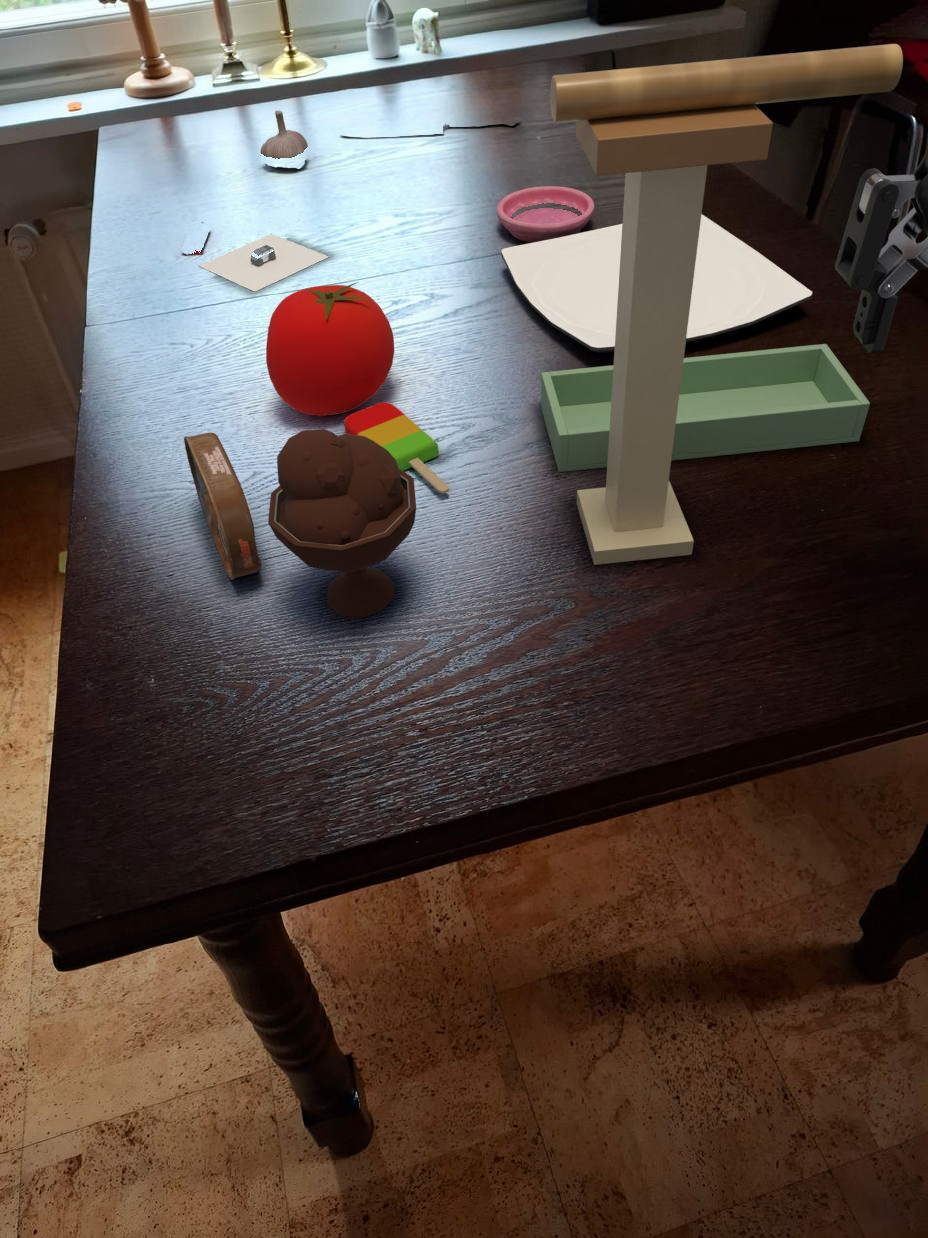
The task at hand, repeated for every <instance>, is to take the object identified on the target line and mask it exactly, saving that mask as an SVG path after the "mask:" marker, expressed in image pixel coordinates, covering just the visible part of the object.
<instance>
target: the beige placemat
mask: <svg viewBox="0 0 928 1238" xmlns="http://www.w3.org/2000/svg"><path fill="white" fill-rule="evenodd" d="M272 250H274V251H273V252H271V253H269V254H266V253H268V252H270V251H272ZM253 252H254V253H255V254H257V255H258V256H259V255H263V254H266V255H264V256H262V257H260V258H258V259H257V258H255V257H253V256H252V253H253ZM329 257H330V256H329V255H326V254H324V253H321V252H318V251H316V250H314V249H311V248H309V247H306V246H304V245H301V244H298V243H296V242H293V241H291V240H289V239H286V238H284V237H281V236H280V235H279V236H278V235H276V234H273V233H270V234H268V235H265V236H264V237H261V238H259V239H256V240H253V241H252V242H249V243H248V244H247V243H246V244H245V245H242V246H241V247H238V248H236V249H234V250H232V251H228V252H227V253H225V254H222V255H220V256H216V258H215V257H214V258H213V259H211V260H209V261H206V262H203V263H201V264H199V265H198V267H200V268H202V269H204V270H207V271H208V272H211V273H213V274H215V275H218V276H219V277H221V278H224V279H226V280H228V281H230V282H232V283H235V284H237V285H238V286H240V287H244V288H246V289H248V290H250V291H252V292H258V291H260V290H262V289H264V288H266V287H268V286H271V285H272V284H275V283H276V282H279V281H281V280H283V279H286V278H287V277H289V276H291V275H294V274H295V273H297V272H299V271H302V270H305V269H307V268H308V267H310V266H314V265H315V264H317V263H319V262H321V261H323V260H325V259H327V258H329Z"/></svg>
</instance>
